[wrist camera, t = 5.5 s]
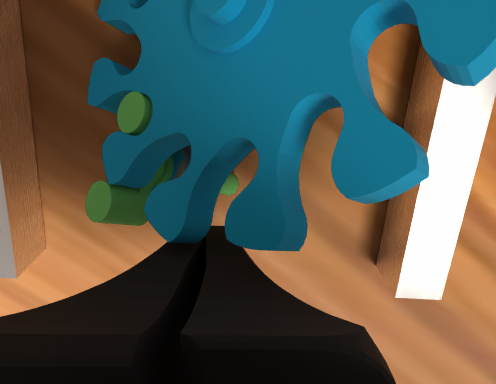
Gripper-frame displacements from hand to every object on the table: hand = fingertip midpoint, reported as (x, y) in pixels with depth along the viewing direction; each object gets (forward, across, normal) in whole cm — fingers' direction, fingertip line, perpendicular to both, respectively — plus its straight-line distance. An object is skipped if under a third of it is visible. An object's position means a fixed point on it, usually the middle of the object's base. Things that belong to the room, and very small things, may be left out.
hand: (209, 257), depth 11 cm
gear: (+3, -1, -6) cm, 7 cm away
